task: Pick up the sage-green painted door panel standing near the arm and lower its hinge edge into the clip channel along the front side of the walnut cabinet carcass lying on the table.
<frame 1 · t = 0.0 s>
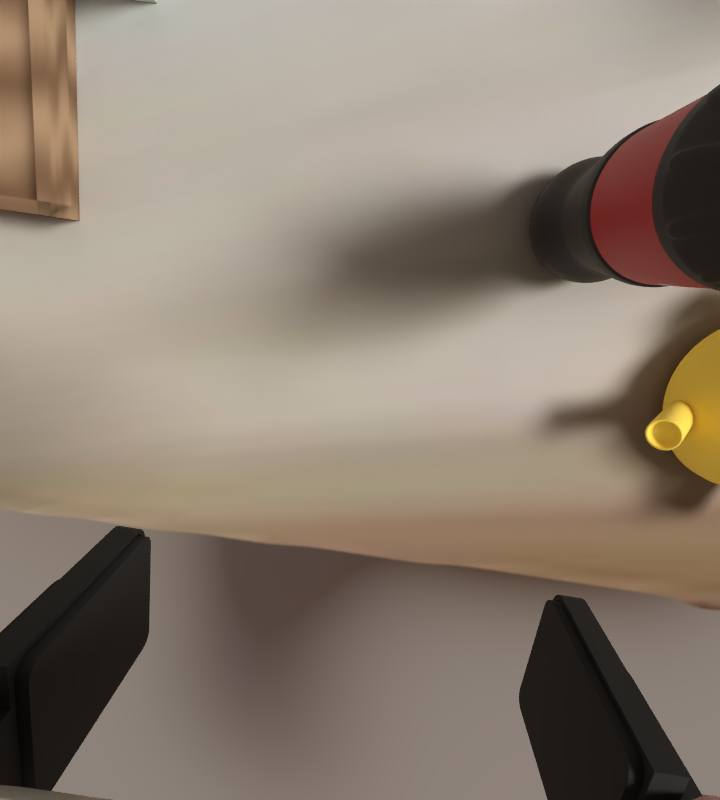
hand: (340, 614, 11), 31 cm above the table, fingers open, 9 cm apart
cola bottle: (574, 226, 37), on the table
teapot: (711, 398, 41), on the table
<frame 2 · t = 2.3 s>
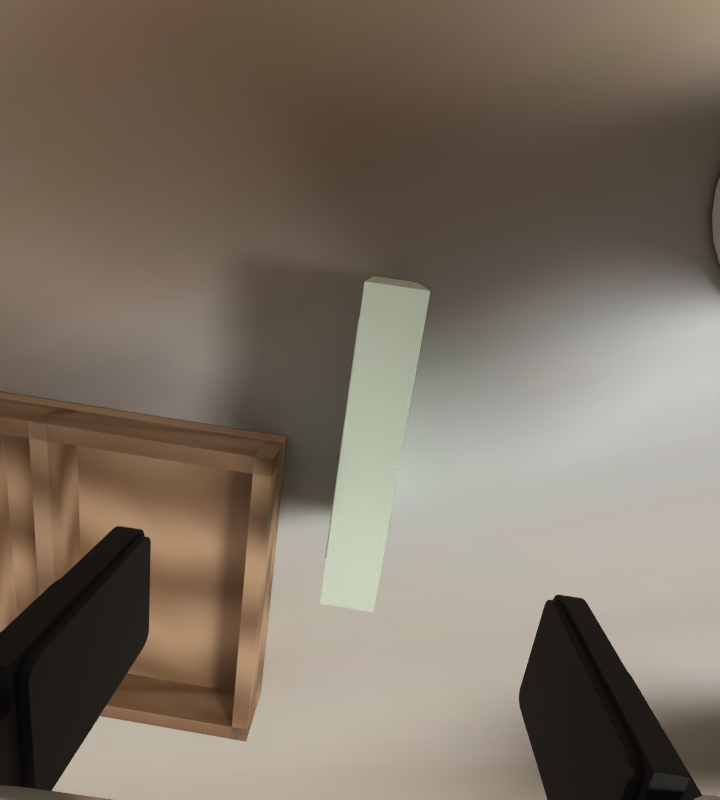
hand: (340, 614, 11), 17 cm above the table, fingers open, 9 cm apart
door: (376, 401, 28), on the table
cabinet: (139, 555, 31), on the table
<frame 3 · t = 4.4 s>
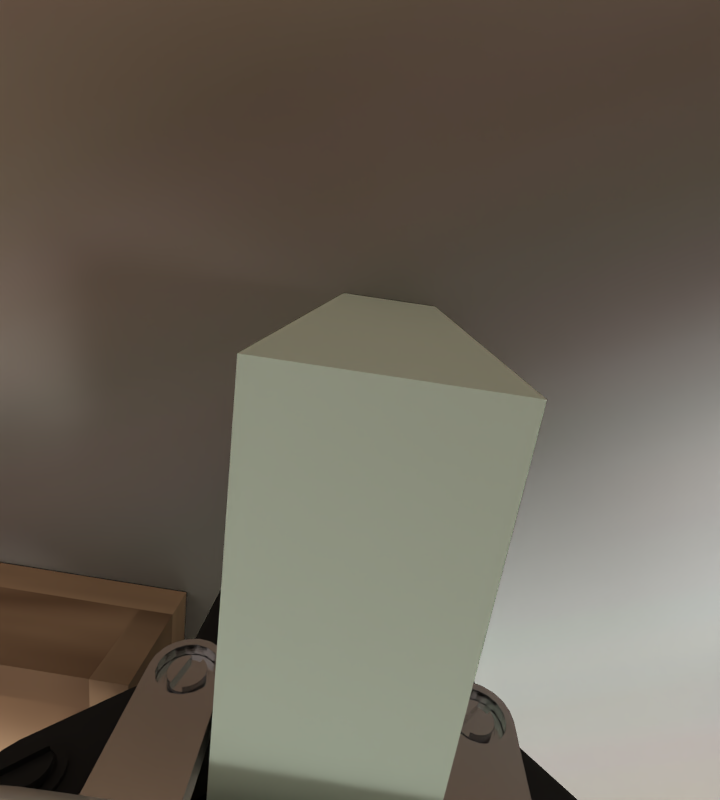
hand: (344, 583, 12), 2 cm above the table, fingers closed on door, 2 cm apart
door: (352, 535, 14), on the table, touching gripper
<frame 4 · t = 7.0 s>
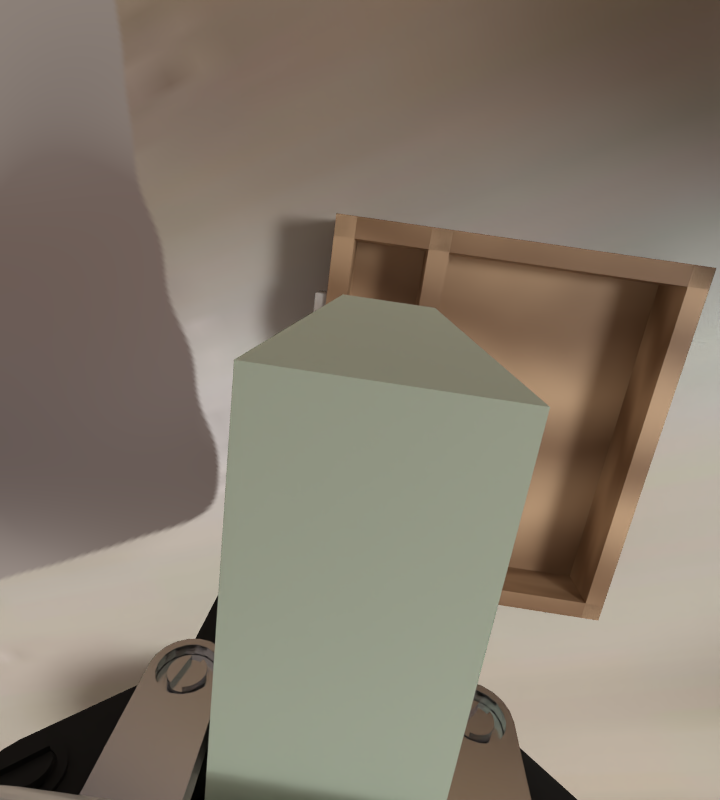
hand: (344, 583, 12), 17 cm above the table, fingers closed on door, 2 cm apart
door: (352, 537, 14), point 15 cm above the table, touching gripper
cabinet: (469, 417, 28), on the table
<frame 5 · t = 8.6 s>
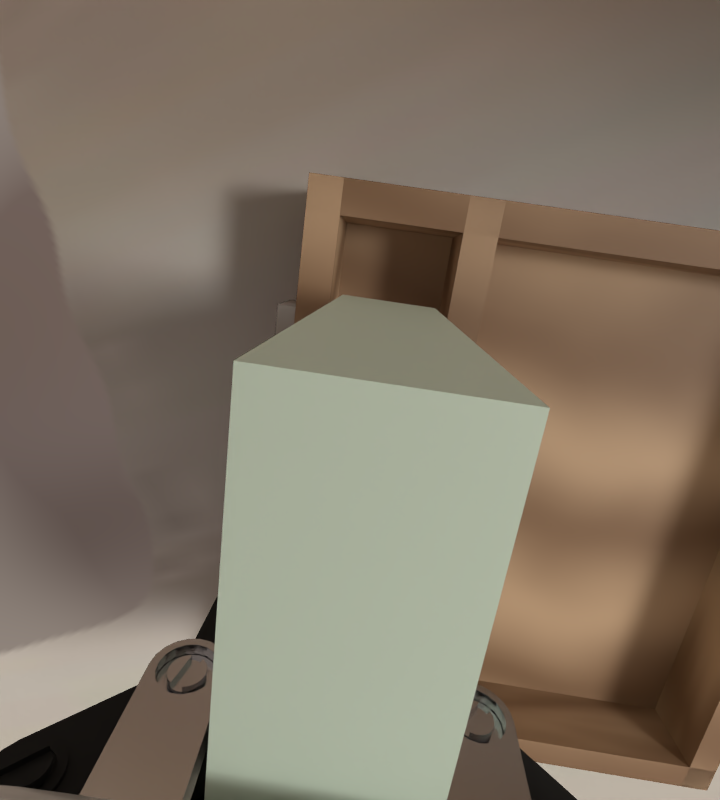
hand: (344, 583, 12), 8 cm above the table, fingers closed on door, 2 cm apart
door: (352, 537, 14), point 6 cm above the table, touching gripper
cabinet: (514, 485, 19), on the table
when the fingers open (5 cm above the table, at t = 9.9 s): door drops 1 cm, resting on cabinet.
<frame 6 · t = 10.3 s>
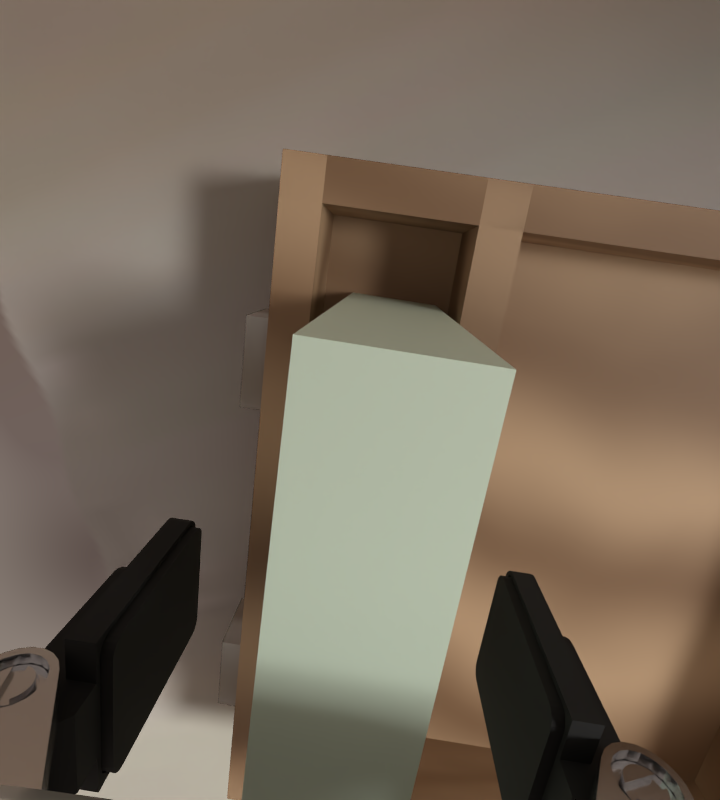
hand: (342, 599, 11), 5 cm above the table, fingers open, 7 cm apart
door: (358, 513, 16), point 1 cm above the table, touching cabinet
cabinet: (532, 524, 16), on the table
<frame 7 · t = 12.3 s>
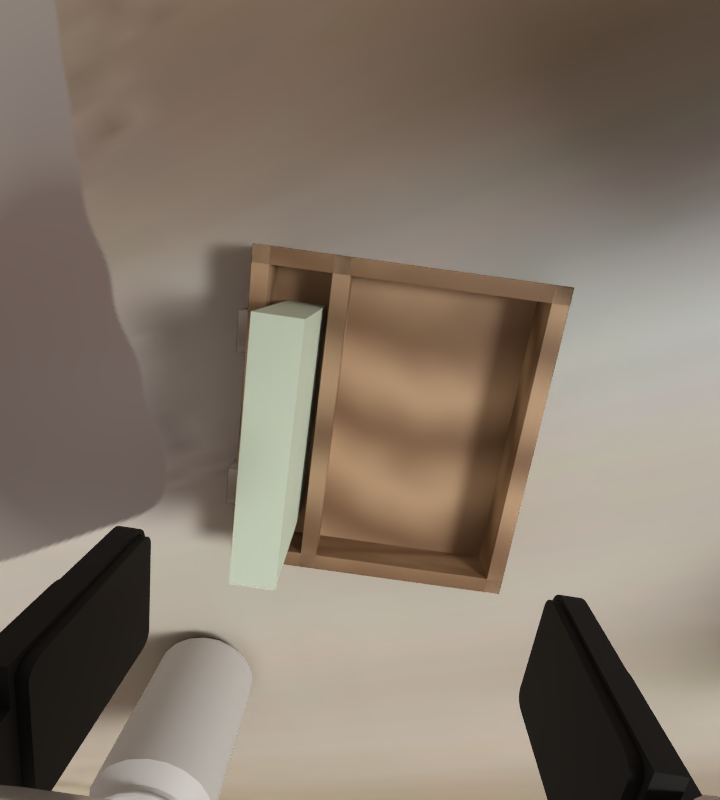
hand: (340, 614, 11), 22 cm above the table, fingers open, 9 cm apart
door: (295, 409, 31), point 1 cm above the table, touching cabinet
can: (210, 666, 38), on the table
cabinet: (385, 417, 32), on the table
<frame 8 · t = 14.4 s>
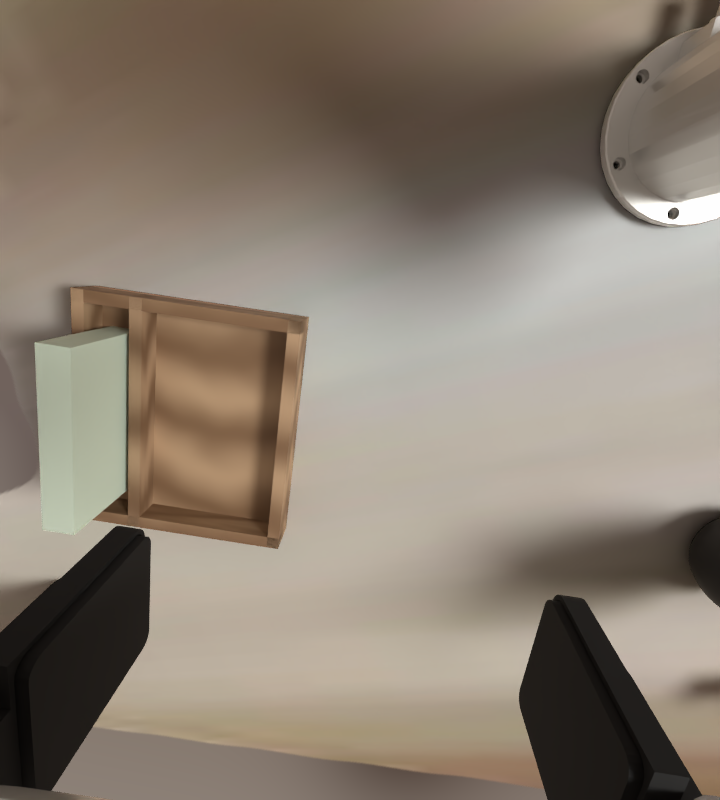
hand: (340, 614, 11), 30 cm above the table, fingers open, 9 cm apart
door: (124, 407, 41), point 1 cm above the table, touching cabinet
cabinet: (197, 414, 42), on the table
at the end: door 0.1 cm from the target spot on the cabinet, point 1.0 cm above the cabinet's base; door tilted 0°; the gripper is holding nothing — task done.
